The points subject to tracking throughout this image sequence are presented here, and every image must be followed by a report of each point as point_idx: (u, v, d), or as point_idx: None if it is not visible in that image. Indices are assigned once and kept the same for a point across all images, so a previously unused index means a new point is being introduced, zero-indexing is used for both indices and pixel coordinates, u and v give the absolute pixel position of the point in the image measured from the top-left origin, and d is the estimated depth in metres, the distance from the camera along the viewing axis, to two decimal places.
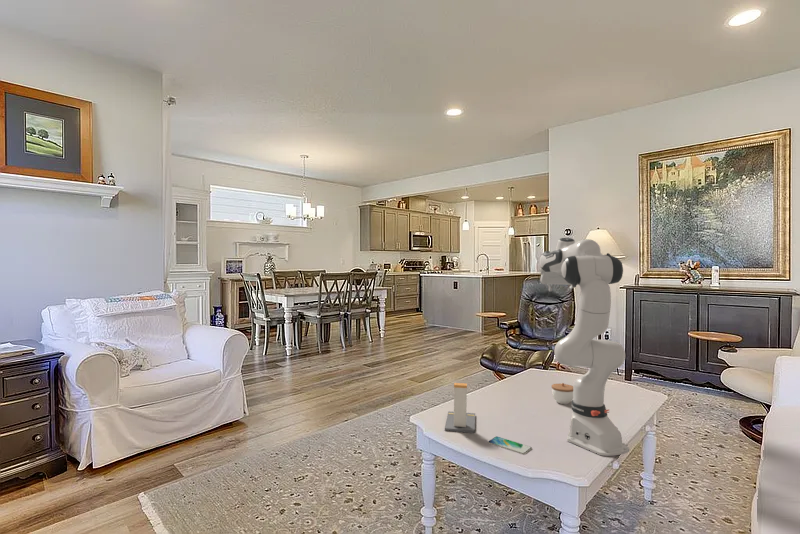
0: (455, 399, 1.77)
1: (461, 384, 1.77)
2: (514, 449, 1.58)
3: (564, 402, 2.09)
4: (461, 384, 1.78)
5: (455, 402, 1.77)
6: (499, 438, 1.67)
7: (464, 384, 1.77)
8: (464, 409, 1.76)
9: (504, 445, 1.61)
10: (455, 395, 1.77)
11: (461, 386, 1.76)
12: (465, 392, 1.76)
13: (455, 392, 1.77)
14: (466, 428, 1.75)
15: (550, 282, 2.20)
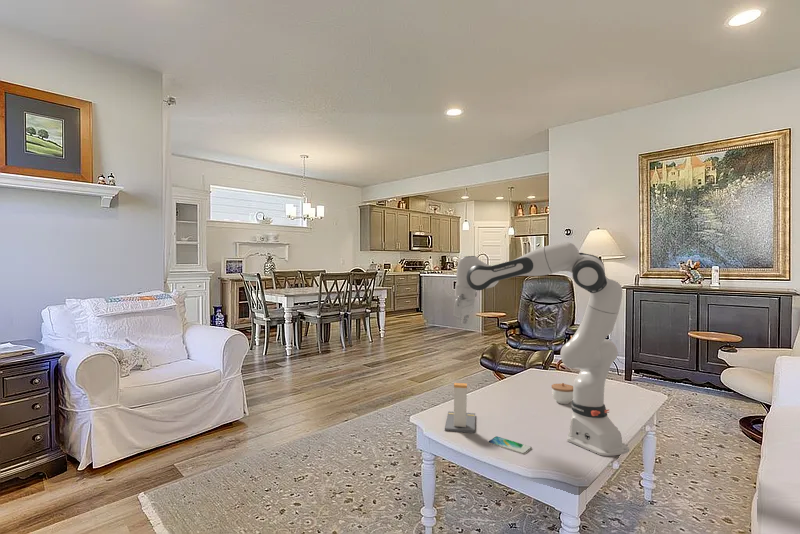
0: (455, 399, 1.77)
1: (461, 384, 1.77)
2: (514, 449, 1.58)
3: (564, 402, 2.09)
4: (461, 384, 1.78)
5: (455, 402, 1.77)
6: (499, 438, 1.67)
7: (464, 384, 1.77)
8: (464, 409, 1.76)
9: (504, 445, 1.61)
10: (455, 395, 1.77)
11: (461, 386, 1.76)
12: (465, 392, 1.76)
13: (455, 392, 1.77)
14: (466, 428, 1.75)
15: (464, 313, 1.80)
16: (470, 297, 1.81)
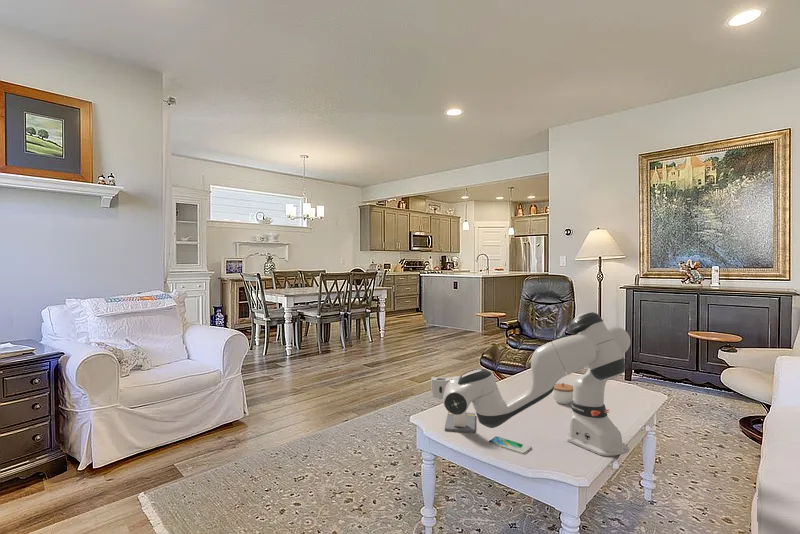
0: None
1: None
2: (514, 449, 1.58)
3: (564, 402, 2.09)
4: None
5: None
6: (499, 438, 1.67)
7: None
8: None
9: (504, 445, 1.61)
10: None
11: None
12: None
13: None
14: (466, 428, 1.75)
15: None
16: None
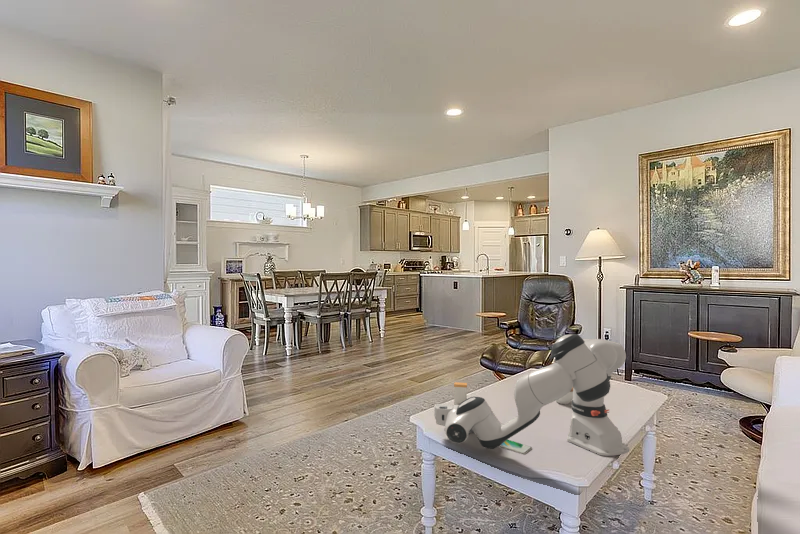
0: (455, 398, 1.78)
1: (461, 383, 1.78)
2: (514, 449, 1.58)
3: (564, 402, 2.09)
4: (461, 383, 1.79)
5: (455, 401, 1.78)
6: None
7: (464, 383, 1.78)
8: None
9: (504, 445, 1.61)
10: (455, 394, 1.78)
11: (461, 385, 1.77)
12: (465, 392, 1.77)
13: (455, 391, 1.78)
14: None
15: None
16: None
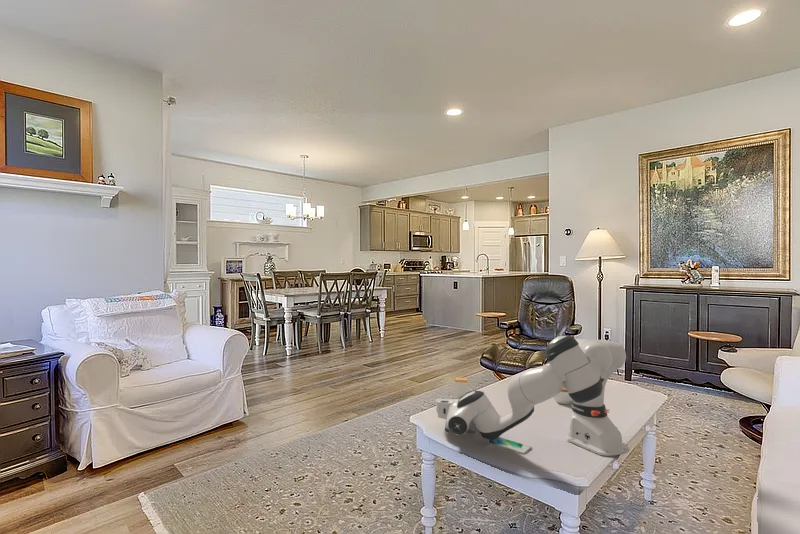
0: (456, 393, 1.85)
1: (462, 379, 1.85)
2: (514, 449, 1.58)
3: (564, 402, 2.09)
4: (462, 378, 1.86)
5: (456, 396, 1.85)
6: (499, 438, 1.67)
7: (465, 379, 1.85)
8: None
9: (504, 445, 1.61)
10: (456, 389, 1.85)
11: (462, 381, 1.84)
12: (466, 387, 1.84)
13: (456, 386, 1.85)
14: None
15: None
16: None
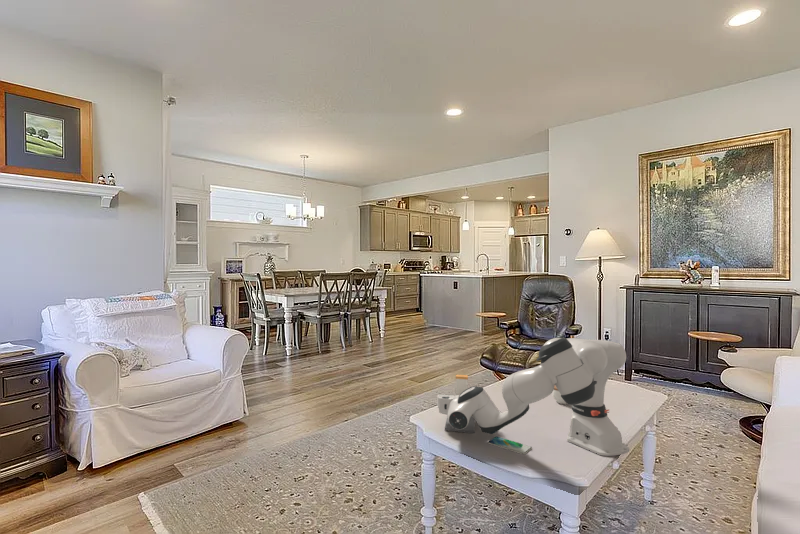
0: (457, 389, 1.90)
1: (462, 376, 1.91)
2: (514, 449, 1.58)
3: (564, 402, 2.09)
4: (462, 375, 1.91)
5: (457, 392, 1.90)
6: (499, 438, 1.67)
7: (465, 376, 1.91)
8: None
9: (504, 445, 1.61)
10: (457, 386, 1.90)
11: (462, 377, 1.89)
12: (466, 383, 1.89)
13: (457, 383, 1.90)
14: (466, 428, 1.75)
15: None
16: None
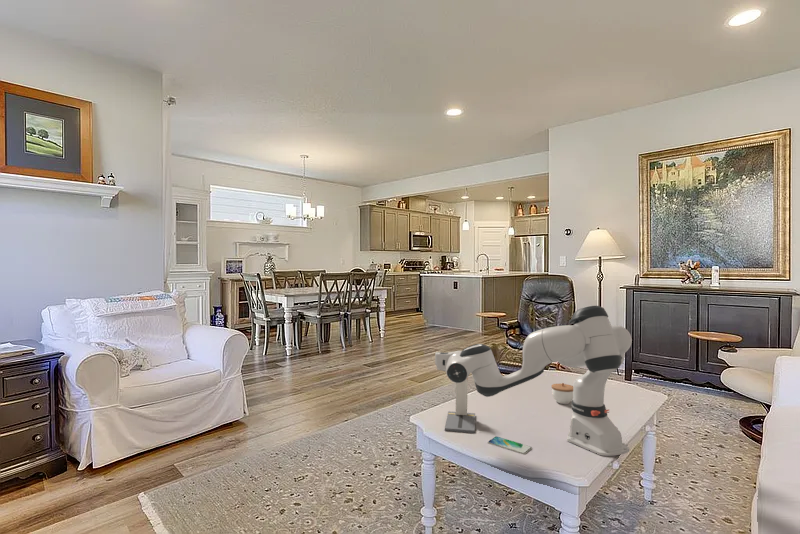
0: (457, 389, 1.90)
1: None
2: (514, 449, 1.58)
3: (564, 402, 2.09)
4: None
5: (457, 392, 1.90)
6: (499, 438, 1.67)
7: None
8: (465, 399, 1.89)
9: (504, 445, 1.61)
10: (457, 386, 1.90)
11: None
12: (466, 383, 1.89)
13: (457, 383, 1.90)
14: (466, 428, 1.75)
15: None
16: None
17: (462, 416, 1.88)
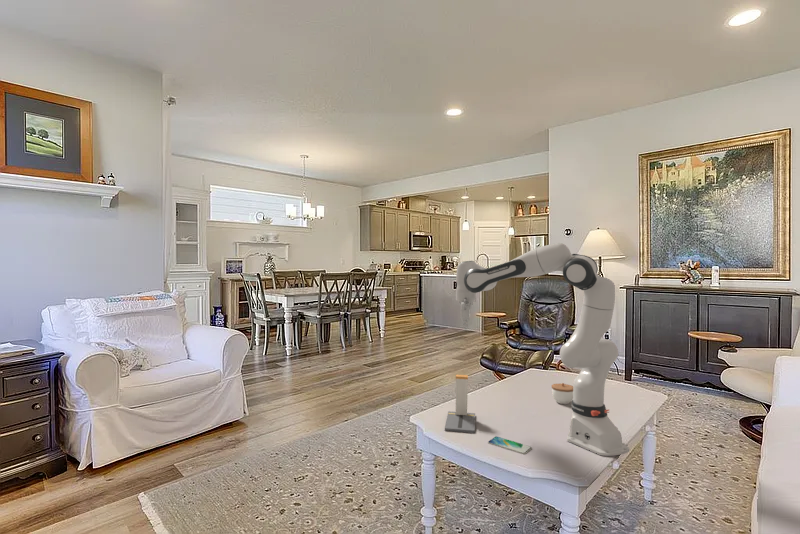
0: (457, 389, 1.90)
1: (462, 376, 1.91)
2: (514, 449, 1.58)
3: (564, 402, 2.09)
4: (462, 375, 1.91)
5: (457, 392, 1.90)
6: (499, 438, 1.67)
7: (465, 376, 1.91)
8: (465, 399, 1.89)
9: (504, 445, 1.61)
10: (457, 386, 1.90)
11: (462, 377, 1.89)
12: (466, 383, 1.89)
13: (457, 383, 1.90)
14: (466, 428, 1.75)
15: (469, 316, 1.87)
16: (473, 300, 1.89)
17: (462, 416, 1.88)
